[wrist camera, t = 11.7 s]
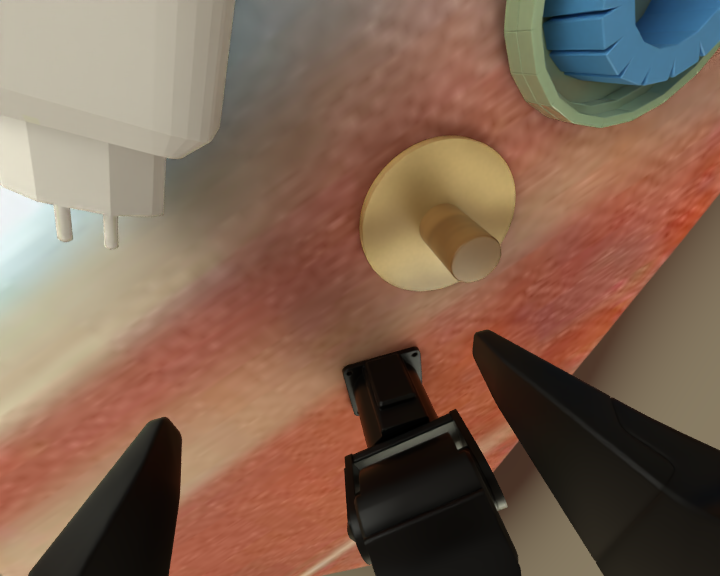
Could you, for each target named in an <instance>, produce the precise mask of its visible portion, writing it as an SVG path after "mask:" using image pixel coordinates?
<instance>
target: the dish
mask: <svg viewBox="0 0 720 576" xmlns="http://www.w3.org/2000/svg"><path fill="white" fill-rule="evenodd" d="M650 2H651V0H635V20H636V23H637V22H638V21H639V19H640V18H641V17H642V16H643V15H644V13H645V11H646V9H647V7H648V5H649V3H650ZM544 5H545V0H506V10H505V22H504V32H505V33H504V37H505V43H506V50H507V56H508V62H509V68H510V72H511V75H512V77H513V79H514V81H515V83H516V85H517V86H518V88H519V90H520V92H521V94H522V96H523V98H524V100H525V101H526V102H527V103H528V104H530V105H531V106H532V107H534V108H535V109H536V110H538V111H539V112H540V113H542V114H543V115H544V116H546V117H548V118H552V119H556V120H560V121H564V122H569V123H573V124H578V125H584V126H590V127H595V128H604V127H608V126H612V125H616V124H621V123H625V122H629V121H632V120H634V119H636V118H638V117H639V116H641V115H643V114H645V113H647V112H648V111H650V110H652V109H654V108H655V107H657V106H659V105H661V104H663V103H664V102H665V101H667V100H668V99H669V98H670V97H671V96H672V95H674V94H675V93H676V92H677V91H678V90H679V89H680V88H682V87H683V86H684V85H685V84H686V83H687V82H688V81H690V80H691V79H692V78H693V77H694V76H695V75H696V74H697V73H698V72H699V71H700V70H701V69H702V68H703V66H704V65H705V64H706V63H707V62H708V60H709V59H710V58H711V57H712V56H713V54H714V53H715V52H716V51H717V49H718V48H719V47H720V41H719V42H718V43H717V44H716V45H715V46H714V47H713V48H712V49H711V50H710V51H709V53H708V54H707V55H705V56H699V61H698V62H697V63H695V64H694V65H692V66H691V67H689V68H688V69H686V70H685V71H683V72H681V73H680V74H678V75H677V76H675V77H672V78H671V77H669V78H668V80H667V81H663V82H658V83H654V84H649V85H645V86H644V85H639V86H638V85H627V84H616V83H605V82H594V81H583V80H578V79H576V78H573V77H570V76H567V75H565V74H564V72H562V71H560V70H559V68H558V67H557V66H556V64H555V63H554V61H553V60H552V59H551V57H550V56H549V54H550V53H551V52H552V50H547V47H546V41H545V35H544V29H543V23H544V22H546V21H547V20H549V19H550V18H551V17H543V12H544ZM552 17H553V16H552Z"/></svg>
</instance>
